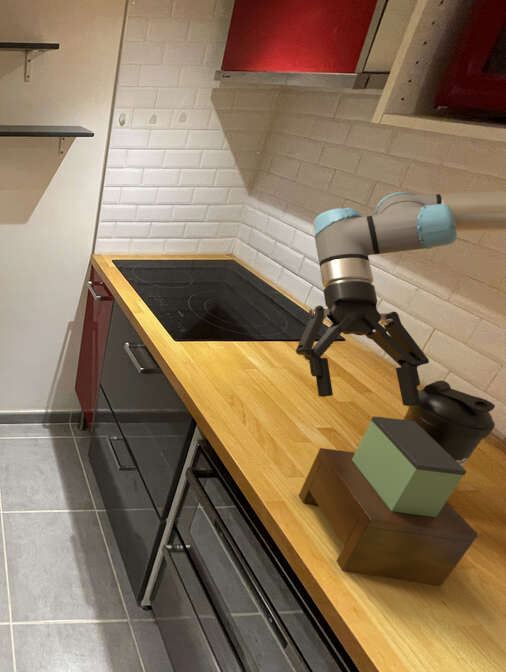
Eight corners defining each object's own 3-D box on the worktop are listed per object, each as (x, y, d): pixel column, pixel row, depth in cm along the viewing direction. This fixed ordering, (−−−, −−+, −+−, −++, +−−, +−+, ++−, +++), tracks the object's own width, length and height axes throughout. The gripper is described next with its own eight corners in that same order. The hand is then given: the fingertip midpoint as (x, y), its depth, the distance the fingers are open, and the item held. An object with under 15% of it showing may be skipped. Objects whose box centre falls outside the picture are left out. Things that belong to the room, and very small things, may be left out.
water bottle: (422, 521, 79) (485, 421, 70) (358, 476, 88) (407, 382, 78) (453, 502, 83) (518, 405, 73) (389, 461, 91) (439, 370, 82)
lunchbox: (390, 464, 76) (414, 420, 72) (436, 517, 66) (467, 471, 62) (350, 459, 76) (372, 415, 72) (391, 511, 67) (418, 465, 63)
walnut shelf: (381, 506, 82) (408, 458, 77) (441, 586, 69) (478, 534, 64) (298, 495, 84) (319, 447, 79) (341, 570, 71) (370, 519, 66)
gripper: (405, 297, 87) (430, 410, 79) (267, 287, 90) (279, 394, 83) (438, 285, 80) (469, 407, 73) (288, 274, 83) (303, 389, 76)
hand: (368, 400), depth 78 cm, fingers open, 13 cm apart
